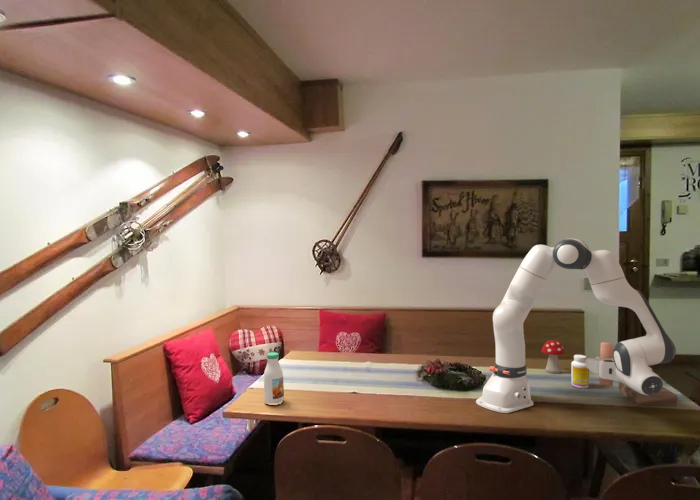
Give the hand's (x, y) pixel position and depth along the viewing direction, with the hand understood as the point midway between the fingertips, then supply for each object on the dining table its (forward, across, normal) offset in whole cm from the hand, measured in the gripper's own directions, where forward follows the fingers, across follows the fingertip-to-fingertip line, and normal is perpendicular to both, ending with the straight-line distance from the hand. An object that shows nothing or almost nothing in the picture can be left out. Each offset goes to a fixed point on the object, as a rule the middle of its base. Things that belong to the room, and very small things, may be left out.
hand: (605, 358), depth 174 cm
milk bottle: (-4, +131, +18) cm, 133 cm away
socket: (-1, -15, +15) cm, 22 cm away
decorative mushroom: (+30, +8, +16) cm, 35 cm away
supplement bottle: (+12, +4, +16) cm, 20 cm away
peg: (-1, 0, +10) cm, 10 cm away
